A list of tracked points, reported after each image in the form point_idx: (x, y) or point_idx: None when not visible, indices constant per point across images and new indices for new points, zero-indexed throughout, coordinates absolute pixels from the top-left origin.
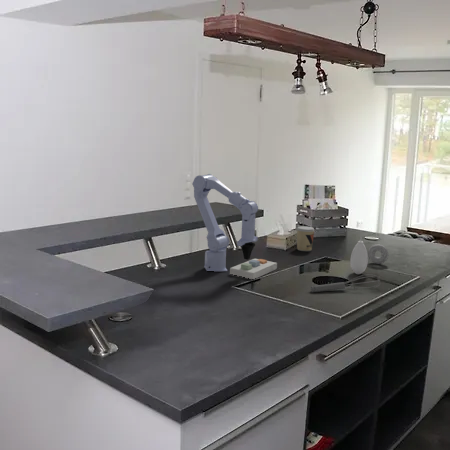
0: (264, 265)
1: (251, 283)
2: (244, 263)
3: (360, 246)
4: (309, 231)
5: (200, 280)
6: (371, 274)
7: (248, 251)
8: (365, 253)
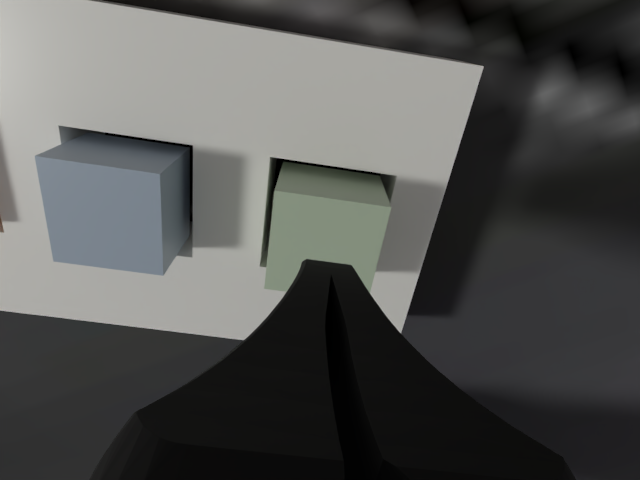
0: (25, 72)
1: (613, 16)
2: None
3: None
4: None
5: (628, 414)
6: None
7: (427, 365)
8: None
